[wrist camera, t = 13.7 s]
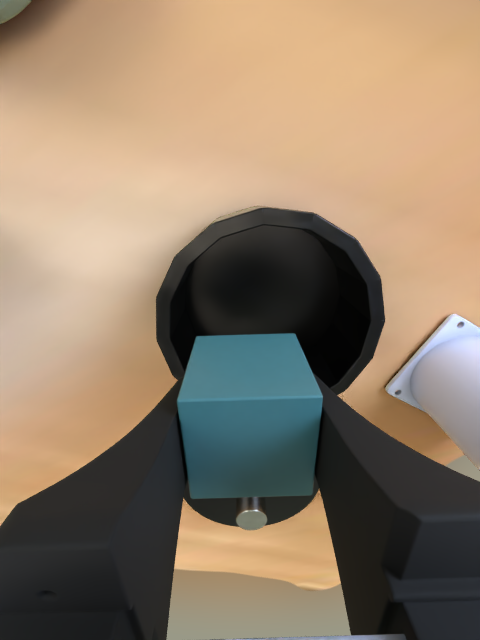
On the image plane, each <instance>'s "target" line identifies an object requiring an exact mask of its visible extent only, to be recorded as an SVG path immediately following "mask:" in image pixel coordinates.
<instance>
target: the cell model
mask: <svg viewBox="0 0 480 640" xmlns="http://www.w3.org/2000/svg"><path fill="white" fill-rule="evenodd" d="M31 1H32V0H0V24H2V23H5V22H6V21H8V20H10V19H12V18H13V17H15V16H16V15H17V14H19V13H20V12H21V11H22V10H23V9H24V8H25V7H26V6H27V5H28V4H29V3H30V2H31Z"/></svg>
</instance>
